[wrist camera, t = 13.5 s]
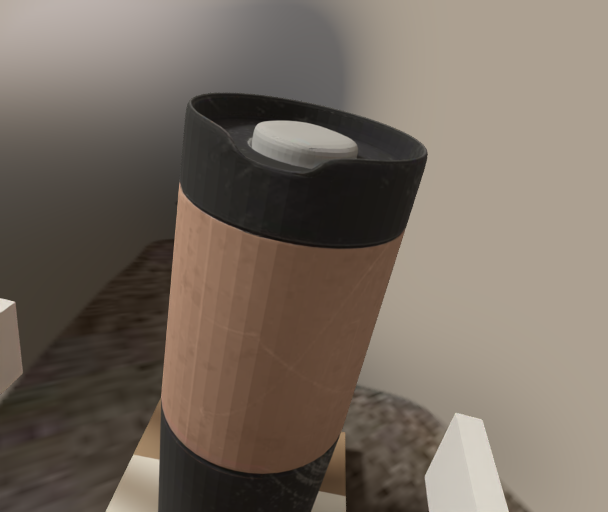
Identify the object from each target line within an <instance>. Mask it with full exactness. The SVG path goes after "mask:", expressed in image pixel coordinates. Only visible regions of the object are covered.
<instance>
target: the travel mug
mask: <svg viewBox="0 0 608 512" xmlns="http://www.w3.org/2000/svg"><path fill="white" fill-rule="evenodd" d="M427 155H428V154H427V149H426V148H425V146H424V145H423V144H422V143H421V142H419V141H418V140H417V139H415V138H414V137H412V136H410V135H408V134H406V133H404V132H402V131H400V130H398V129H396V128H393V127H391V126H388V125H386V124H383V123H380V122H377V121H374V120H371V119H369V118H366V117H362V116H359V115H356V114H352V113H348V112H345V111H341V110H337V109H333V108H329V107H325V106H321V105H316V104H312V103H307V102H302V101H296V100H291V99H284V98H278V97H272V96H264V95H255V94H244V93H208V94H203V95H199V96H196V97H194V98H192V99H191V100H190V101H189V103H188V105H187V109H186V115H185V125H184V137H183V149H182V162H181V172H180V184H179V197H178V207H177V219H176V231H175V242H174V254H173V266H172V277H171V289H170V301H169V312H168V324H167V336H166V347H165V359H164V371H163V382H162V395H161V423H160V459H159V495H158V512H311V510H312V508H313V505H314V503H315V500H316V497H317V495H318V492H319V489H320V487H321V484H322V481H323V479H324V476H325V473H326V471H327V468H328V466H329V463H330V460H331V458H332V455H333V452H334V450H335V447H336V444H337V442H338V439H339V437H340V433H341V431H342V428H343V425H344V422H345V419H346V415H347V412H348V409H349V406H350V403H351V400H352V396H353V393H354V390H355V387H356V384H357V381H358V377H359V374H360V371H361V368H362V365H363V362H364V358H365V355H366V352H367V349H368V346H369V343H370V339H371V336H372V333H373V330H374V327H375V324H376V320H377V317H378V314H379V311H380V308H381V305H382V301H383V298H384V295H385V292H386V289H387V286H388V283H389V279H390V276H391V273H392V270H393V266H394V264H395V260H396V257H397V254H398V250H399V248H400V245H401V241H402V238H403V235H404V232H405V228H406V226H407V222H408V219H409V216H410V213H411V210H412V207H413V204H414V200H415V197H416V194H417V191H418V188H419V184H420V181H421V178H422V175H423V172H424V169H425V164H426V161H427Z"/></svg>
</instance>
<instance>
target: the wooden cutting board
mask: <svg viewBox="0 0 608 512" xmlns="http://www.w3.org/2000/svg"><path fill="white" fill-rule="evenodd" d="M160 423H161V399H160V401H159V403H158V405H157V407H156V409H155V411H154V413H153V416H152V418H151V420H150V422H149V424H148V426H147V428H146V430H145V432H144V434H143V436H142V438H141V440H140V442H139V444H138V446H137V448H136V450H135V453H134V455H133V457H132V459H131V461H130V463H129V465H128V467H127V469H126V471H125V473H124V475H123V477H122V479H121V481H120V483H119V485H118V487H117V490H116V492H115V494H114V496H113V498H112V500H111V502H110V504H109V506H108V508H107V510H106V512H158V495H159V459H160ZM311 512H346V474H345V432H341V433H340V437H339V439H338V442H337V444H336V447H335V450H334V452H333V455H332V458H331V460H330V463H329V466H328V468H327V471H326V473H325V476H324V479H323V481H322V484H321V487H320V489H319V492H318V495H317V497H316V500H315V503H314V505H313V508H312V510H311Z"/></svg>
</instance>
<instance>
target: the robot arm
mask: <svg viewBox="0 0 608 512" xmlns="http://www.w3.org/2000/svg"><path fill="white" fill-rule="evenodd" d="M22 374H23V370H22V360H21V351H20V342H19V333H18V324H17V314H16V305H15V302H13V301H9V300H5V299H1V298H0V395H1V394H2V393H3V392H4V391H5V390H6V389H7V388H8V387H9V386H10V385H11V384H12V383H13V382H14V381H15V380H16V379H17V378H18V377H19V376H21V375H22ZM425 482H426V490H427V499H428V507H429V512H509V511H508V507H507V504H506V500H505V497H504V494H503V490H502V487H501V483H500V480H499V476H498V473H497V469H496V466H495V462H494V459H493V455H492V452H491V448H490V445H489V441H488V438H487V434H486V431H485V428H484V424H483V421H482V419H478V418H474V417H470V416H466V415H462V414H458V413H455V415H454V417H453V419H452V421H451V423H450V425H449V427H448V429H447V432H446V434H445V436H444V438H443V440H442V442H441V444H440V446H439V448H438V450H437V452H436V454H435V456H434V459H433V461H432V463H431V465H430V467H429V469H428V471H427V473H426V475H425Z"/></svg>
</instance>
